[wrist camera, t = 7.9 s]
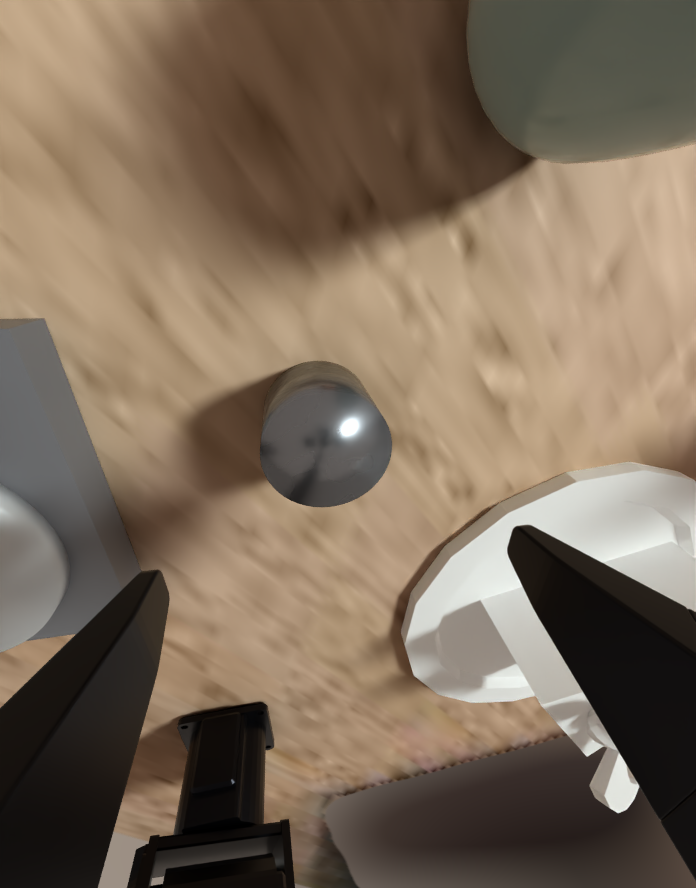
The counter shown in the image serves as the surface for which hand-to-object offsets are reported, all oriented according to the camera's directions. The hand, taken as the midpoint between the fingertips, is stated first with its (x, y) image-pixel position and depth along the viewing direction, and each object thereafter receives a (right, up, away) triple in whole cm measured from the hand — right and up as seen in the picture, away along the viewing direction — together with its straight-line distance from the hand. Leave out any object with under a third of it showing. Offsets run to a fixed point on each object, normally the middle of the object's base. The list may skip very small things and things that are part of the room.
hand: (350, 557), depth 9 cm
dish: (+16, -9, +19) cm, 27 cm away
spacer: (-1, +4, +8) cm, 9 cm away
